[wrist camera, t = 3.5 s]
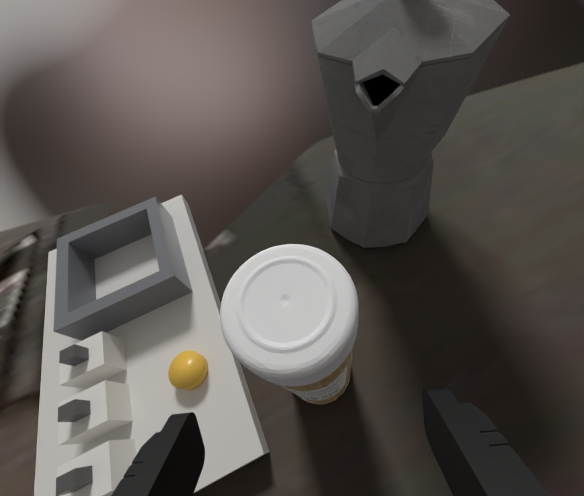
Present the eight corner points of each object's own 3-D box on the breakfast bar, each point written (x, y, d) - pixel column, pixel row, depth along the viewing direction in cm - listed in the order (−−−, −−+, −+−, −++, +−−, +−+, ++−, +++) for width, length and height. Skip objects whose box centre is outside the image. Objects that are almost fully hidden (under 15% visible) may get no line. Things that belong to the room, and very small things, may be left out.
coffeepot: (418, 282, 22) (571, -11, 7) (305, 256, 25) (248, 6, 10) (437, 151, 29) (535, -137, 14) (347, 142, 32) (350, -107, 17)
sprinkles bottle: (353, 343, 21) (366, 245, 9) (346, 413, 19) (351, 396, 7) (293, 332, 22) (240, 233, 11) (279, 397, 20) (193, 361, 8)
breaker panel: (188, 204, 31) (163, 168, 27) (269, 452, 18) (246, 460, 14) (61, 259, 29) (13, 231, 25) (52, 571, 17) (-49, 622, 12)
